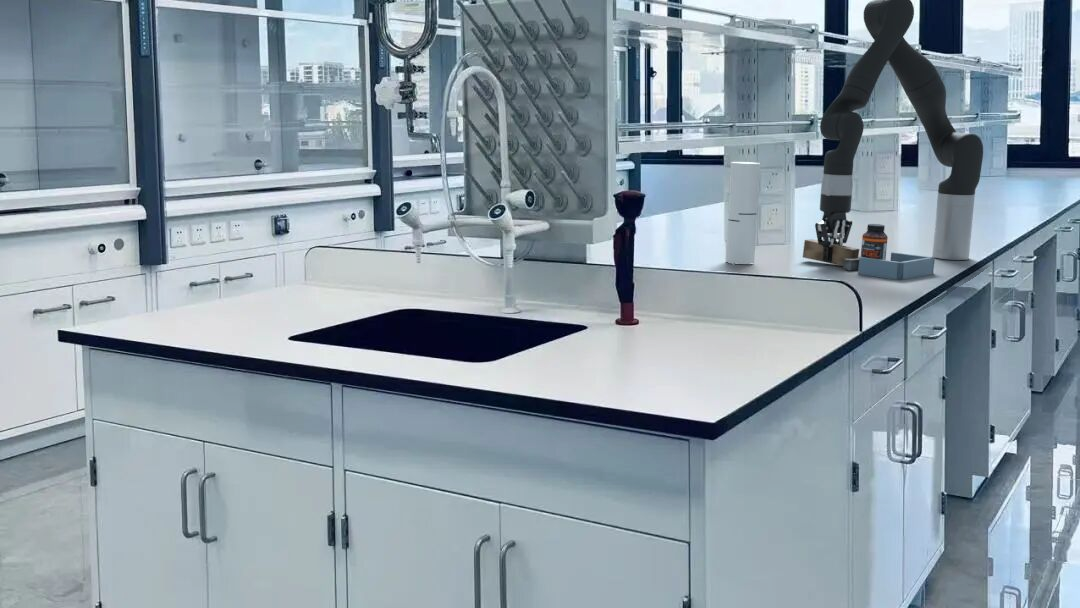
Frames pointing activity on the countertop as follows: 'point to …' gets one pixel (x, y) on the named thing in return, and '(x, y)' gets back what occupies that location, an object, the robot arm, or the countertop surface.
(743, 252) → the cylindrical container
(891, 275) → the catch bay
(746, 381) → the countertop surface
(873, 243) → the supplement bottle
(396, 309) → the countertop surface
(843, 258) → the scraper
